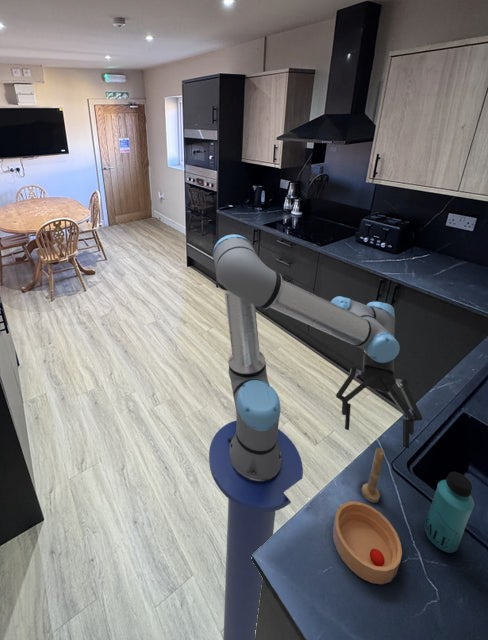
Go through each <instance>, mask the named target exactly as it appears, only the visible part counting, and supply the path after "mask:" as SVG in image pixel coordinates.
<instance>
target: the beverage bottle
mask: <svg viewBox="0 0 488 640" xmlns="http://www.w3.org/2000/svg"><path fill="white" fill-rule="evenodd" d="M472 490H473V484H472V482H471V481H470V480H469V478H468V477H466V476H465V475H464V474H463V473H460V472H458V471H450V472H449V473H448V475H447V476H446V479H441V480H439V481H438V483H437V486H436V489H435V491H434V493H433V495H432V500H431V503H430V505H429V508H428V510H427V514H426V518H425V520H424V531H425V534H426V536H427V538H428V540H429V541H430V542H431V544H433V545H434V546H435V547H436V548H438V549H439V550H441V551H443V552H445V553H449V554H450V553H455V552H457V551H458V550H459V547H460V544H461V541H462V539H463V536H464V533H465V530H466V527H467V524H468V521H469V519H470V516H471V514H472V511H474V508H475V501H474V499H473V497H472Z"/></svg>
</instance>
